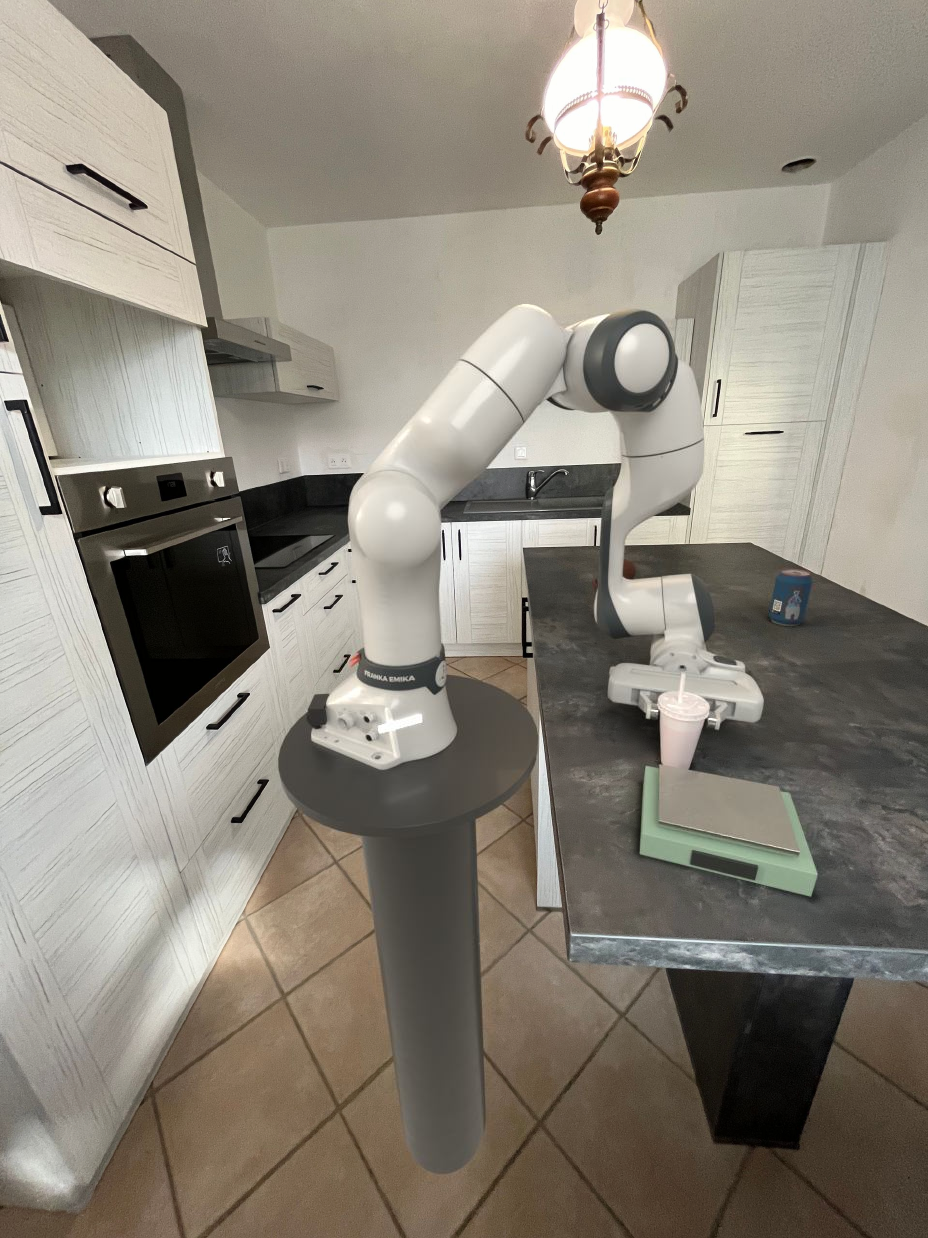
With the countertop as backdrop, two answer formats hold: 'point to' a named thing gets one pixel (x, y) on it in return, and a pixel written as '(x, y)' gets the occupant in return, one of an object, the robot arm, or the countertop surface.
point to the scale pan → (725, 810)
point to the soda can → (790, 597)
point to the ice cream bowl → (628, 573)
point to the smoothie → (680, 725)
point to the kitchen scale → (726, 849)
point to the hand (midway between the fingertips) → (682, 719)
